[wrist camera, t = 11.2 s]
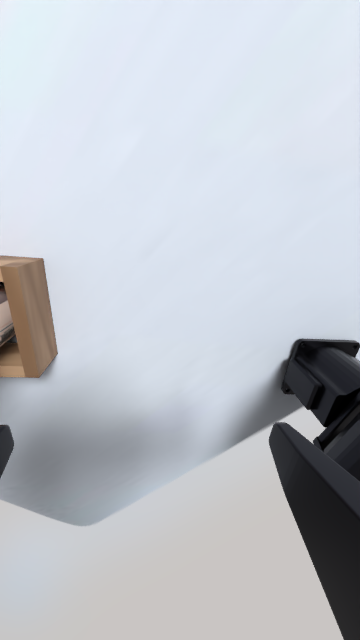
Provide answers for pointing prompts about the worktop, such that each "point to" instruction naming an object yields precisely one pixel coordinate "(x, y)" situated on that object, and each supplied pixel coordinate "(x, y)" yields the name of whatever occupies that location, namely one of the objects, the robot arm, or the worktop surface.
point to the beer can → (5, 318)
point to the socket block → (27, 318)
